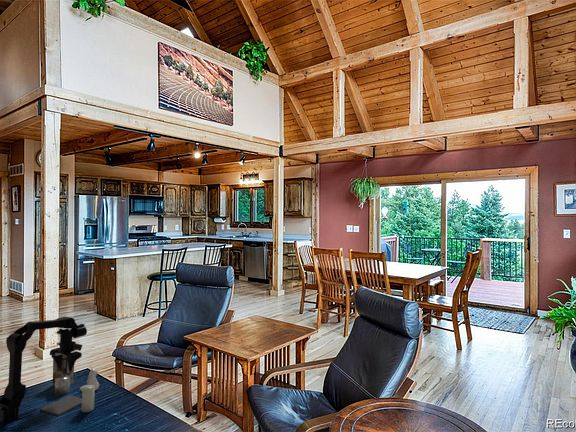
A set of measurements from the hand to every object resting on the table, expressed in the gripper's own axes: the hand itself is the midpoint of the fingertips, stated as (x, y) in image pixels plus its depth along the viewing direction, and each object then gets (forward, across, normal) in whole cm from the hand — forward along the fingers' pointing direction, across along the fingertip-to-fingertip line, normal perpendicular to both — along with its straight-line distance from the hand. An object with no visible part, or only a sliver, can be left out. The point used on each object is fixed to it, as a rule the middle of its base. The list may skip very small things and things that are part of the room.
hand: (64, 369), depth 198 cm
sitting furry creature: (+14, -6, -12) cm, 19 cm away
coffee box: (+14, +16, -10) cm, 24 cm away
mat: (+14, -10, +6) cm, 19 cm away
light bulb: (+14, -24, +3) cm, 28 cm away
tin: (+14, +5, -3) cm, 16 cm away
